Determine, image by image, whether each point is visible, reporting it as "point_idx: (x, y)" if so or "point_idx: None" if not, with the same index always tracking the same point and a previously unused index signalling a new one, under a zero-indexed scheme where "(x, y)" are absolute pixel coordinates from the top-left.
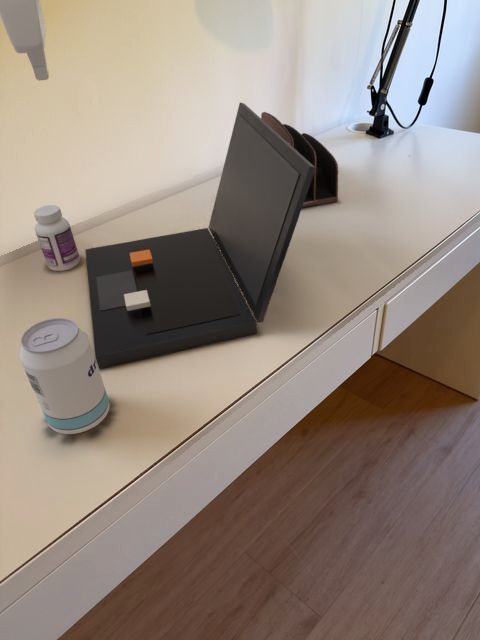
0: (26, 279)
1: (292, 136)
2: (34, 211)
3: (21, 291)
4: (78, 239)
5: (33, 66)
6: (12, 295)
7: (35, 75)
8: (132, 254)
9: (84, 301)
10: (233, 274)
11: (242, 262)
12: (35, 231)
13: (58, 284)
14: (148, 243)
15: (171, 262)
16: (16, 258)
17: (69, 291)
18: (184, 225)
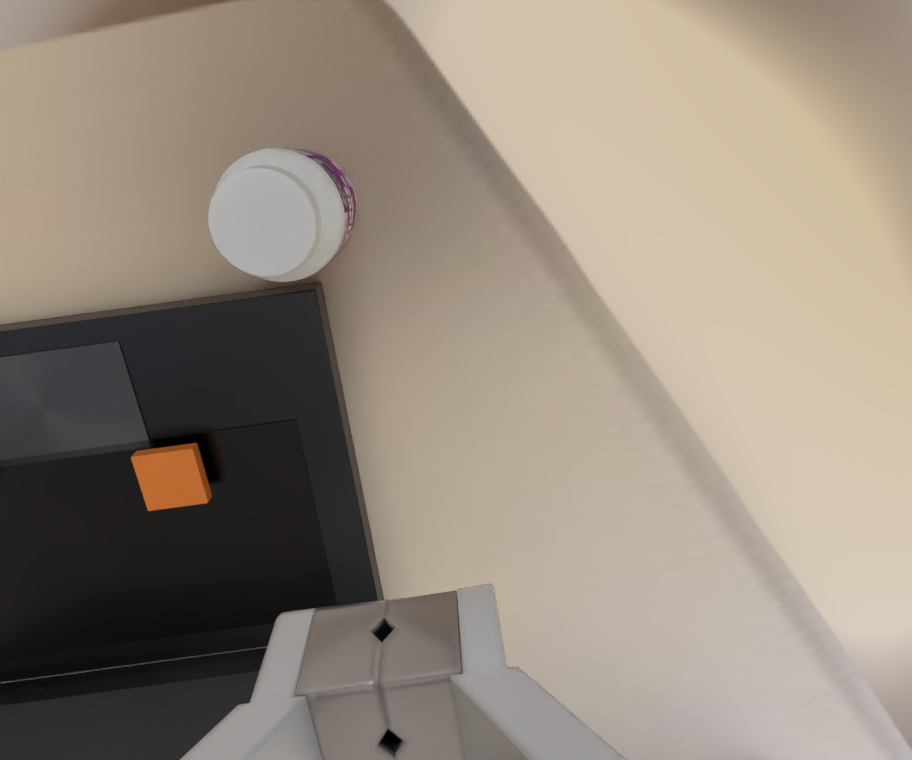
0: (220, 83)
1: None
2: (259, 170)
3: (142, 79)
4: (479, 233)
5: (240, 717)
6: (119, 51)
7: (272, 637)
8: (179, 458)
9: (68, 292)
10: (98, 673)
11: (39, 733)
12: (250, 152)
13: (174, 201)
14: (316, 478)
15: (182, 539)
16: (384, 14)
17: (128, 242)
18: (486, 551)
